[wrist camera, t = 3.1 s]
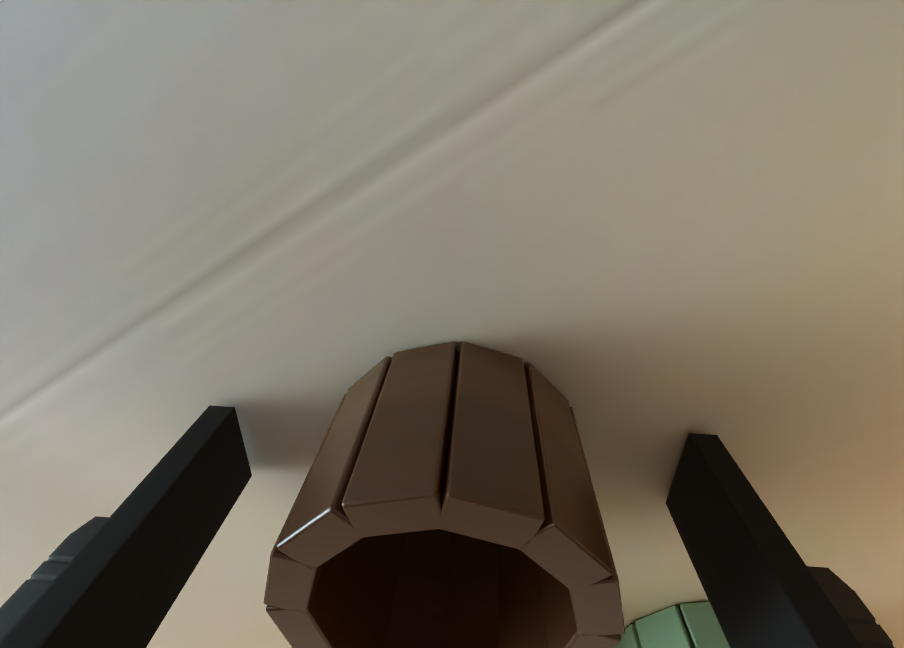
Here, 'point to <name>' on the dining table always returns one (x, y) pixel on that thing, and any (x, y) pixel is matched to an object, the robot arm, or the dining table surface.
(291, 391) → the dining table surface
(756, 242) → the dining table surface
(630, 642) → the sage ring
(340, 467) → the walnut ring
